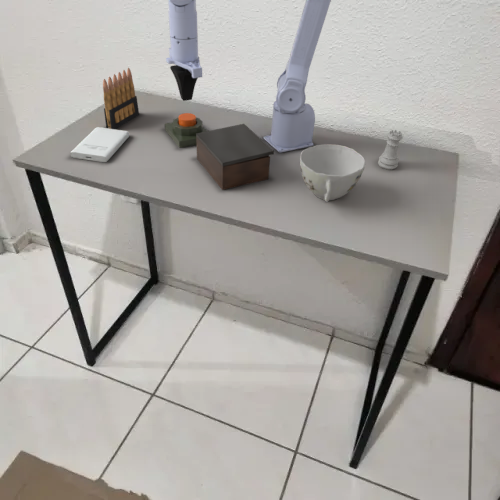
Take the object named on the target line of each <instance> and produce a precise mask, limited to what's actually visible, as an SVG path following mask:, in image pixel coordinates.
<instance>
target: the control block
mask: <svg viewBox="0 0 500 500" xmlns="http://www.w3.org/2000/svg"><path fill="white" fill-rule="evenodd" d="M164 131H165V132H166V133H167V134H168V135H169V137H170V138H171V139H172V140H173V142H174V143H175V145H176V146H177V147H178V148H179V149H181V148H187V147H192V146H197V142H196V134H197V133H201V132H206V131H208V130H207V129H206V128H205V126H204V122H203V120H202V119H201V118H200V117H197V116H196V125H194V126H190V127H186V126H181V125H179V116H178V117H176V118H174V119H173V120H172V122H165V123H164Z"/></svg>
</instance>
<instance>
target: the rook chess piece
mask: <svg viewBox="0 0 500 500" xmlns="http://www.w3.org/2000/svg"><path fill="white" fill-rule="evenodd" d="M386 135H387V140H386V145H385V149H384V151H383V152H382V154H381V155H379V157H378V160H377V165H378V166H379V167H380V168H382V169H383V170H389V171H391V170H394V169H397V167H398V166H399V157H398V149H399V146H400V144H401V143H400V141H401V140H402V139H403V133H402V131H400V130H398V129H391V130H389V133H387V134H386Z"/></svg>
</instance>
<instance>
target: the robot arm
mask: <svg viewBox="0 0 500 500" xmlns="http://www.w3.org/2000/svg"><path fill="white" fill-rule="evenodd" d="M331 1H332V0H305V2H304V4H303V5H304V6H303V9H302V12H301V16H300V19H299V23H298V27H297V30H296V33H295V36H294V37H295V38H294V41H293V44H292V48H291V51H290V55H289V58H288V60H287V63H286V64H285V68H284V70H283V71H282V73H281V74H280V75H279V77H278V79H277V81H276V95H275V101H274V102H273V106H272V117H271V118H272V119H271V130H270V132H271V133H270V135H265V136H263V140H264V141H266V143H267V144H269V146H270V147H272V148H273V149H275V150H276V151H277V152H278V153H280V154H281V153H285V152H290V151H295V150H300V149H304V148H305V149H306V148H309V147H314V146H315V145H314V143H313V136H314V130H315V124H316V123H315V122H316V113H315V110H314V108H313V107H312V105H311V104H309V103H306V86H307V82H308V77H309V71H310V67H311V64H312V61H313V59H314V55H315V52H316V49H317V45H318V42H319V40H320V36H321V33H322V31H323V26H324V24H325V20H326V17H327V14H328V12H329V11H328V10H329V8H330V4H331ZM167 5H168V27H169V41H170V42H169V43H170V44H169V45H170V47H169V48H168V52H169V53H168V54H169V55H168V56H169V57H165V62H166V63H168V64H169V65H170V67H169V69H170V71H171V73H172V74H173V76H174V79H175V81H176V85H177V88H178V92H179V95H180V99H181V100H182V101H183V102H186V101H191V100H193V96H194V92H195V87H196V83H197V81H198V79H199V78H203V67H202V66H201V62H200V57H199V36H198V35H199V34H198V11H197V0H167Z"/></svg>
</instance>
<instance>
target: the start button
mask: <svg viewBox="0 0 500 500" xmlns="http://www.w3.org/2000/svg"><path fill="white" fill-rule="evenodd" d="M178 117H179V125H181V126H186V127H190V126H194V125H196V117H197V116H196V115H195V114H194V113H189V112H185V113H180V114H179V115H178Z"/></svg>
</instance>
